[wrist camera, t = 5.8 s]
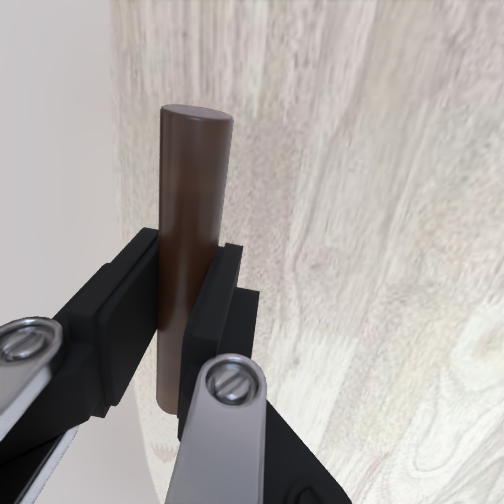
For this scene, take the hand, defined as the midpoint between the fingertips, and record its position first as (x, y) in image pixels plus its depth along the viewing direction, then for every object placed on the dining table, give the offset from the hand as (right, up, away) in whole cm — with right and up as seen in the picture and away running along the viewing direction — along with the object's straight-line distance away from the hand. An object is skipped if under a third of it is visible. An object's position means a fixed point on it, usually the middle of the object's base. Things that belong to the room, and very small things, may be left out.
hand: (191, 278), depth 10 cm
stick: (0, 0, 0) cm, 0 cm away
